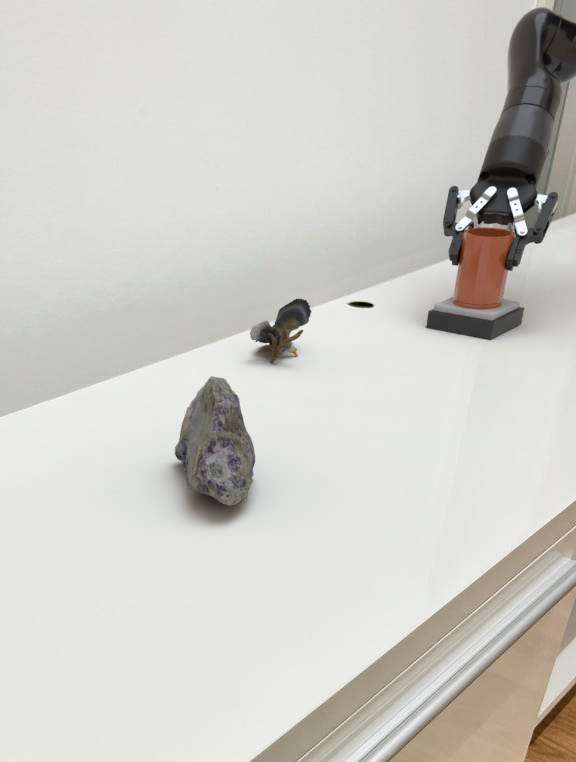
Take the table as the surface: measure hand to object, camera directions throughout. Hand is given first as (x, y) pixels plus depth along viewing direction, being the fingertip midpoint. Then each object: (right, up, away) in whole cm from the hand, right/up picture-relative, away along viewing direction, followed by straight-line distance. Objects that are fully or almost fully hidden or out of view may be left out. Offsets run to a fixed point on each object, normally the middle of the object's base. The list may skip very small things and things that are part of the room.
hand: (481, 264), depth 133 cm
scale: (+1, -6, +6) cm, 9 cm away
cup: (+1, -4, +4) cm, 6 cm away
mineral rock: (-40, -34, -36) cm, 64 cm away
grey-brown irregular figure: (-27, -13, -3) cm, 30 cm away
